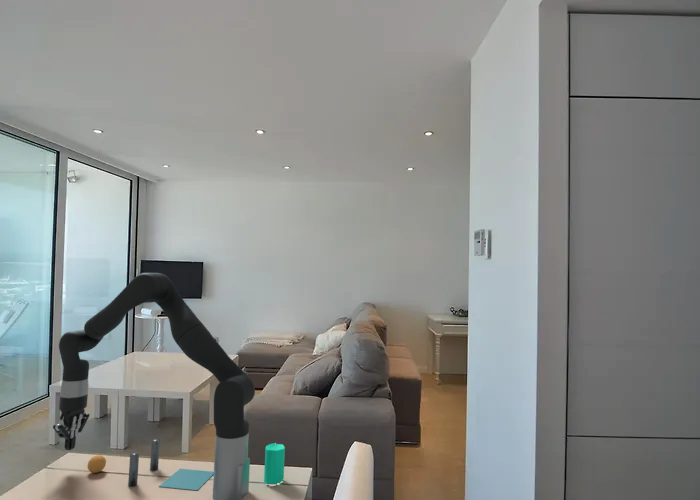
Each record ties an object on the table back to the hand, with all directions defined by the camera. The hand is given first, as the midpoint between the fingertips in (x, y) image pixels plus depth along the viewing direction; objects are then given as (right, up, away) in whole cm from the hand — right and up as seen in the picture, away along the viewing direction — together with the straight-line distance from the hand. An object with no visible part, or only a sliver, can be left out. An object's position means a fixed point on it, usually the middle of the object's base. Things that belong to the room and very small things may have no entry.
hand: (69, 449), depth 136 cm
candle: (+66, -8, -5) cm, 66 cm away
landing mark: (+39, -7, -5) cm, 40 cm away
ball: (+10, -4, -2) cm, 10 cm away
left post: (+25, -6, -9) cm, 27 cm away
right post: (+26, -7, +2) cm, 27 cm away
